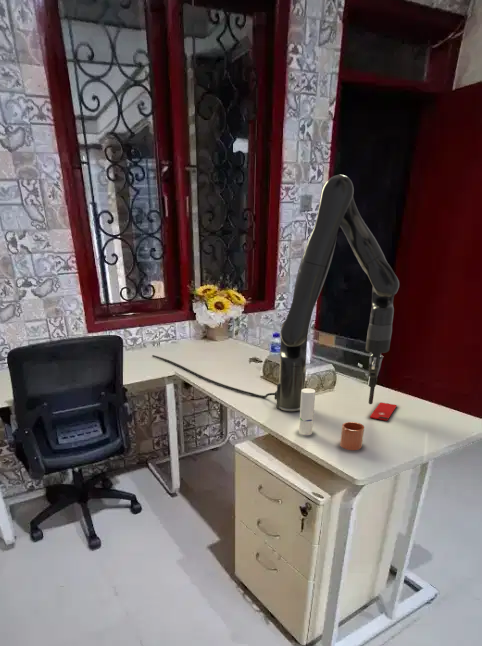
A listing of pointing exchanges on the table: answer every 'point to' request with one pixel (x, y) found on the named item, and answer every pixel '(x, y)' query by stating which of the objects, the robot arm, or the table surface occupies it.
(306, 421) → the tube
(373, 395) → the stylus
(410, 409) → the table surface
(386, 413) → the electronic device
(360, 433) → the pen cup
